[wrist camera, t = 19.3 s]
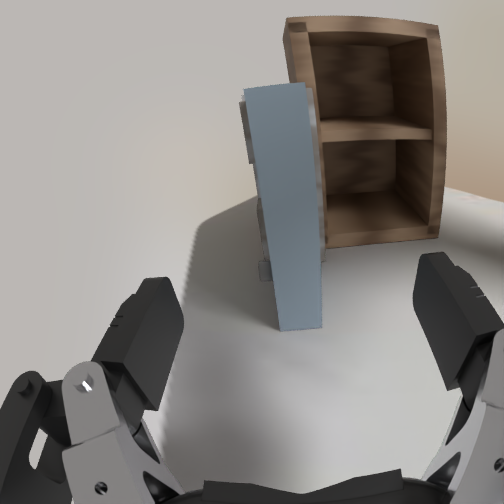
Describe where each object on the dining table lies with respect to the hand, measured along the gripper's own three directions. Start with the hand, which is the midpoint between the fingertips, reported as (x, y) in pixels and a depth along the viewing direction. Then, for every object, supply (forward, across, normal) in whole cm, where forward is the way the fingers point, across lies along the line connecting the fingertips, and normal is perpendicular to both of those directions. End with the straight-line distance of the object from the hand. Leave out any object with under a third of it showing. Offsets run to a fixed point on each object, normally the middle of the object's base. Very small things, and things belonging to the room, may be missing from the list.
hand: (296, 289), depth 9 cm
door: (+13, 0, +10) cm, 16 cm away
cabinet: (+23, -7, +10) cm, 26 cm away
